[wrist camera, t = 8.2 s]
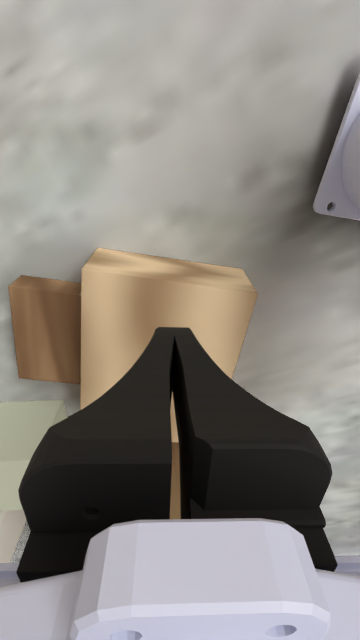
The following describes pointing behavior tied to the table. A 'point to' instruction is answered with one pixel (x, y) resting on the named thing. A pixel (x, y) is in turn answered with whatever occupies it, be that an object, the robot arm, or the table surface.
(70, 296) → the walnut block
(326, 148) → the table surface
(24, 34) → the table surface
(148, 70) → the table surface
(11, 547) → the wine bottle
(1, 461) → the sage cube
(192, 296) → the oak step
